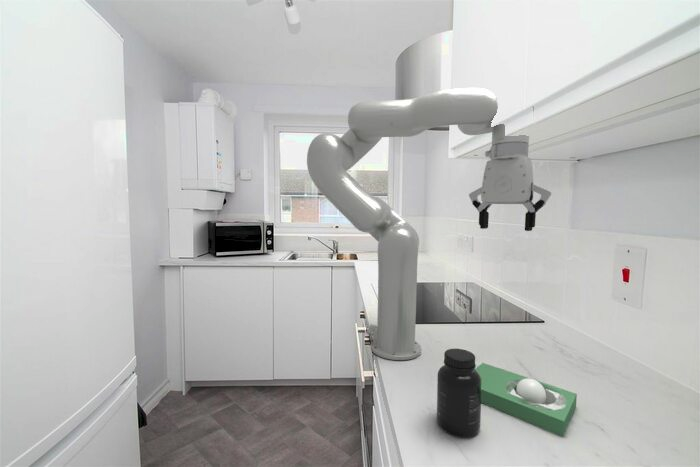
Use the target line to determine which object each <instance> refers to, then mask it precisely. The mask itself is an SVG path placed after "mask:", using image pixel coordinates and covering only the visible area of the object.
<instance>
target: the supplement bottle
mask: <svg viewBox="0 0 700 467" xmlns="http://www.w3.org/2000/svg"><path fill="white" fill-rule="evenodd" d="M443 354H444V357H443V358H444V359H443V365H441V366H440V368H439V369H438V372H437V384H436V385H437V386H436V388H437V392H436V394H437V397H436V421H437V423H438V426H439V427H440V428H441V429H442V430H443V431H444V432H445V433H447V434H449V435H452V436H454V437H459V438H469V437H471V438H472V437H474V436H475V435H477V434H478V433H479V432H480V429H481V415H482V413H481V411H482V403H481V377H480V375H479V373H478V372H477V371H476V370H475V369H476V368H477V367H476V354H474V353H473V352H471V351H469V350H466V349H462V348H448V349H446V350H445V351H444V353H443Z"/></svg>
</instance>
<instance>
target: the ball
mask: <svg viewBox="0 0 700 467" xmlns="http://www.w3.org/2000/svg"><path fill="white" fill-rule="evenodd" d="M527 378H528V379H523V380H521V381H520V382H519V383H518V384H517V387H516V393H517V395H519V396H520V397H522V398H523V399H525V400H528V401H530V402H533V403H537V404H544V405H545V403H546V402H545V401H546V392H545V389H544V387H543V386H542V385H541V384H540V383H539V382H538V381H539V380H536V379H534V378H530V377H527ZM529 378H530V379H529Z"/></svg>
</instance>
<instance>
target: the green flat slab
mask: <svg viewBox="0 0 700 467" xmlns="http://www.w3.org/2000/svg"><path fill="white" fill-rule="evenodd" d="M475 370H476V371H477V372H478V373H479V375H480V377H481V404H483V405H486V406H489V407H491V408H493V409H495V410H499V411H501V412H503V413H506V414H508V415H510V416H512V417H515V418H517V419H520V420H522V421H525V422H527V423H530V424H531V425H534V426H537V427H539V428H541V429H544V430H546V431H549V432H551V433H553V434H556V435H559V436H561V437H564V436H565V433H566V431H567V428H568V427H569V424H570V422H571V419H572V417H573V415H574V414H575V413H574V412H575V410H576V408H577V396H578V395H577V394H578V393H576V392H572V391H569V390H566V389H564V388H560V387H557V386H554V385H551V384H548V383H545V382H543V381H540V380H537V381H538V382H539V383H540V384H541V385H542V386H543V387H544V389H545V392H546V401H545V403H546V404H545V403H544V404H537V403H533V402H530V401H528V400H525V399H523V398H522V397H520V396H519V395H517V393H516V387H517V384H518V383H519V382H520V381H521V380H523V379H528V378H529V379H531V378H530V377H527V376H524V375H520V374H518V373H515V372H512V371H509V370H506V369H503V368H499V367H497V366H493V365H492V364H487V363H485V362H482V363H480V364H479V365H478V366H477V367H476V368H475Z"/></svg>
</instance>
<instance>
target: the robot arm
mask: <svg viewBox="0 0 700 467" xmlns="http://www.w3.org/2000/svg"><path fill="white" fill-rule="evenodd" d="M497 100H498V98H497V96H496V94H494V93H493V92H492V91H490V90H488V89H486V88H481V87H466V88H465V87H464V88H452V89H445V90H444V89H443V90H439V91H435V92H432V93H429V94H424V95H421V96H419V97H416V98H407V99H392V100H370V101H362V102H357V103H355V104H353V105H352V107H351V108H350V109H349V111H348V115H347V122H348V123H347V124H348V127H349V129H348V130H347V131H346V132H345V133H344V134H343V135H342V136H341V137H340V136H338V135H336V134H334V133H329V132H325V133H324V132H323V133H320V134H318V135H316V136H315V137H313V139H312V141H310V144H309V146H308V148H307V154H306V166H307V171H308V174H309V176H310V179H311V181H312V182H313V184H314V186H315V187H316V188H317V189H318V191H319V192H320V193H321V194H322V195H323V196H324V197H325V198H326V199H327V200H328V201H329V202H330V203H331V204H332V205H333V206H334V207H335V209H337V210H338V211H339V212H340V213H341V214H342V215H343V216H344V217H345V218H346V219H347V220H348V221H349V222H350V223H351V225H352V226H353V227H354V228H355V229H357V230H358V231H359V232H362V233H367V234H369V235H370V236H372V238H374V239H375V240H376V241H377V242H378V243H377V265H378V267H377V268H378V269H377V270H378V272H377V273H378V276H377V277H378V278H377V279H378V280H377V282H378V283H377V288H378V289H377V319H376V320H377V323H376V324H377V325H375V324H370V325H369V326H368V329H366V334H367V335H368V336H369V335H370V336H372V337H373V340H372V341H371V342H370V350H371V351H372V353H374V354H375V355H376V356H377V357H380V358H383V359H387V360H392V361H409V360H412V359H415V358H417V357H419V356H420V354H421V353H422V346H421V344H420V343H418V342H417V341H416V320H417V319H416V317H417V315H416V314H417V291H418V289H417V288H418V284H417V283H418V256H419V247H420V239H419V234H418V232H417V231H416V229H414V227H413V226H411V225H410V223H408V222H407V221H406V220H405V219H404V218H403V217H402V216H401V215H400V214H399V213H398V212H397V211H396V210H394V208H392V207H391V206H390V204H388V203H387V202H386V201H385V200H383V199H382V198H379V197H377V196H375V195H373V194H371V193H370V192H369V191H368V190H366V189H365V188H364V187H363V186H362V185H361V184H360V183H359V182H358V181H357V180H356V179H355V178H354V177H353V176H351V175H350V173H349V172H347V171H348V170H350V169H351V168H353V167H354V166H355V165H356V164H357V163H359V162H360V161H361V159H363V158H364V157H365V156H366V155H367V154H369V152H370V151H371V150H373V149H374V147H376V145H377V144H378V143H379V142H380V140H382V138H395V137H397V138H409V137H410V138H411V137H414V136H417V135H420V134H422V133H424V132H425V131H427V130H430V129H433V128H437V127H442V126H443V127H444V126H454V125H455V126H457V128H458V130H459V131H460V132H461V133H463V134H464V135H466V136H478V135H484V134H489V133H492V134H491V147H490V149H489V150H486V151H485V153H484V156H485V157H486V158H490V160H486V163H485V168H484V172H483V176H482V177H483V179H482V182H481V183H482V184H481V187H479V188H477V189H475V190H474V191H472V192H470V193H469V194H468V196H469V199H470V200H471V204H472V205H473V206H474V207H475V209H476V210H477V212H478V225H479V229H482V230H484V229H489V220H490V219H489V218H490V217H489V215H490V214H489V211H488V210H489V208H490V207H491V206H492V205H523V206H524V207H525V208H526V210H527V211H526V213H525V217H524V218H525V220H524V231H526V232H530V231H531V232H532V231H533V228H535V227H536V216H537V214H536V213H537V212H538V211H540V210H541V209H542V208H543V207H544V206H545V205H546V203H547V202H548V200H549V199H550V197H551V196H552V192H551V191H550V190H547V189H545V188H543V187H541V186H538V185H536V184H534V171H533V170H534V169H533V162H532V158H531V157H529V142H530V135H529V136H526V135H519V136H505V125H504V124H499V125H496V126H494V127H491V123H492V122H491V121H492V120H493V118H494V116H495V115H496V113H497V109H498V102H497ZM534 193H537V194H538V195H540V198H539V199H538V200H537V201H536V202H535V203H533V202H534V201H533V199H534ZM479 196H480V200H481V201H479V198H478V197H479Z"/></svg>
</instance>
